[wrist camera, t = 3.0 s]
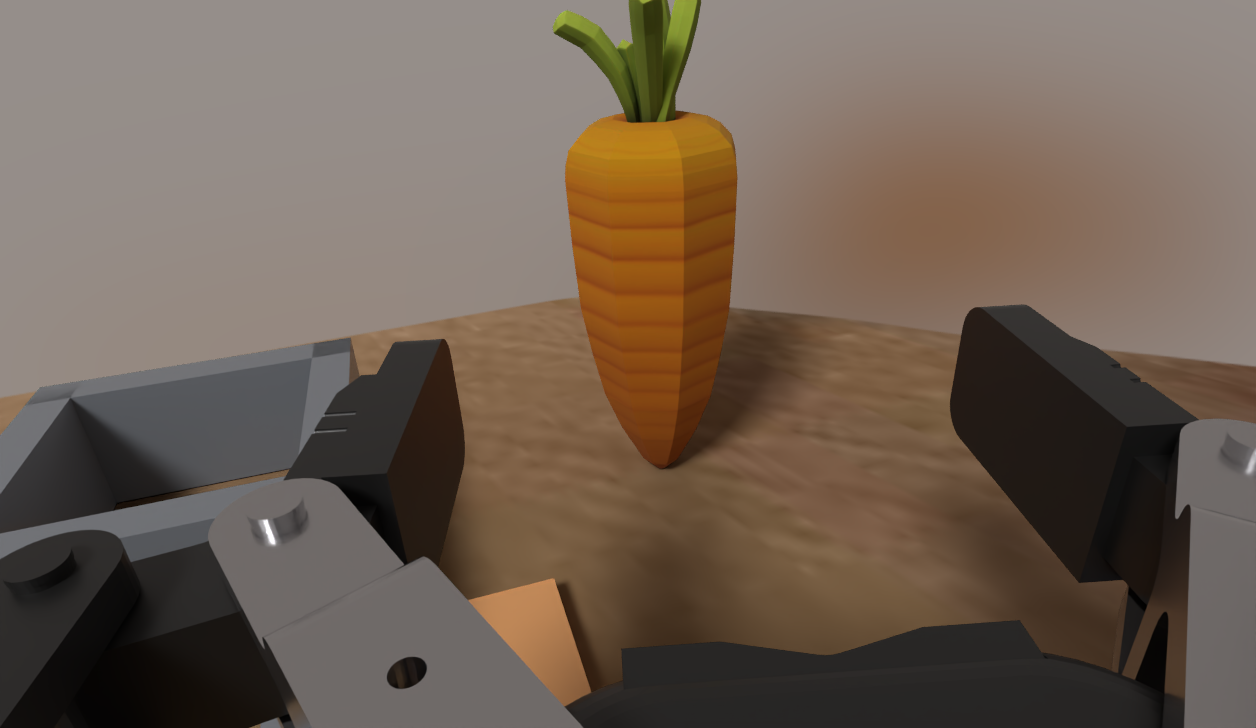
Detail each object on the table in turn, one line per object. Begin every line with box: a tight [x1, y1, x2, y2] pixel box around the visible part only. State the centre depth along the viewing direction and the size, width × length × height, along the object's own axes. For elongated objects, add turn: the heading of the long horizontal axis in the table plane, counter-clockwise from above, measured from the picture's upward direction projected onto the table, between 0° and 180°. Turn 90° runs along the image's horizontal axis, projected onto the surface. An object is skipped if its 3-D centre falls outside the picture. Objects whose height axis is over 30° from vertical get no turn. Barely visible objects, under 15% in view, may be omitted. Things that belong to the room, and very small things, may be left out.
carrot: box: [553, 0, 737, 469], centre depth 22 cm, size 5×5×15 cm
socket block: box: [0, 338, 591, 728], centre depth 19 cm, size 14×18×4 cm
